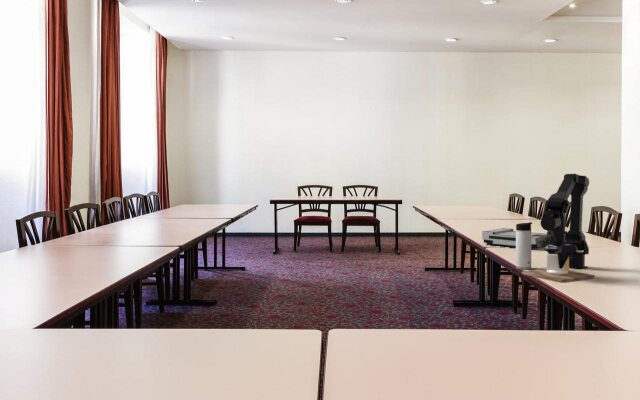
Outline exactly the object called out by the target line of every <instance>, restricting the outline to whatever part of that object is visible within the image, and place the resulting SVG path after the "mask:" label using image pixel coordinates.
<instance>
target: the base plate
mask: <svg viewBox="0 0 640 400" xmlns="http://www.w3.org/2000/svg"><path fill="white" fill-rule="evenodd" d="M521 275H524V276H529V277H534V278H539V279H544V280H547V281H552V282H557V283H562V284H563V283H567V282H574V281H582V280H588V279H595V277H596V276H595V274H590V273H584V272H581V271H575V270H570V269H569V271H568V274H566V275H553V274H548V273H547V268H541V269H540V268H539V269H530V270H524V271H521Z"/></svg>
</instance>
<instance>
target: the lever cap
mask: <svg viewBox="0 0 640 400" xmlns="http://www.w3.org/2000/svg"><path fill="white" fill-rule="evenodd" d="M546 269H547V273H548V274H553V275H566V274H568V271H569V270H570V268H569V257H568V259H567V260H566V262H565V264H564V266H563V268H559V263H558V255H557V254H548V253H546Z"/></svg>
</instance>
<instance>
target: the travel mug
mask: <svg viewBox="0 0 640 400" xmlns="http://www.w3.org/2000/svg"><path fill="white" fill-rule="evenodd" d="M532 225H533V222H532V221H529V222H521V223H516V225H515V231H516V249H515V269H517V270H524V271H529V270H532V249H531V233H532Z"/></svg>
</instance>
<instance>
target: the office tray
mask: <svg viewBox="0 0 640 400" xmlns="http://www.w3.org/2000/svg"><path fill="white" fill-rule="evenodd" d="M544 235H547V233H541V232H531V250H533V249H532V248H538V247H537V244H536V241H535V239H536V238H539V237H541V236H544ZM481 237H482V238H481V239H482V240H483V243H485V244H486V246H487V245H490V246H489V247H496V246H500V247H499V248H505V247H509V248H508V249H515V248H516V230H514V229H513V228H506V227H501V228H495V229H488V230H482V231H481Z"/></svg>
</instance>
